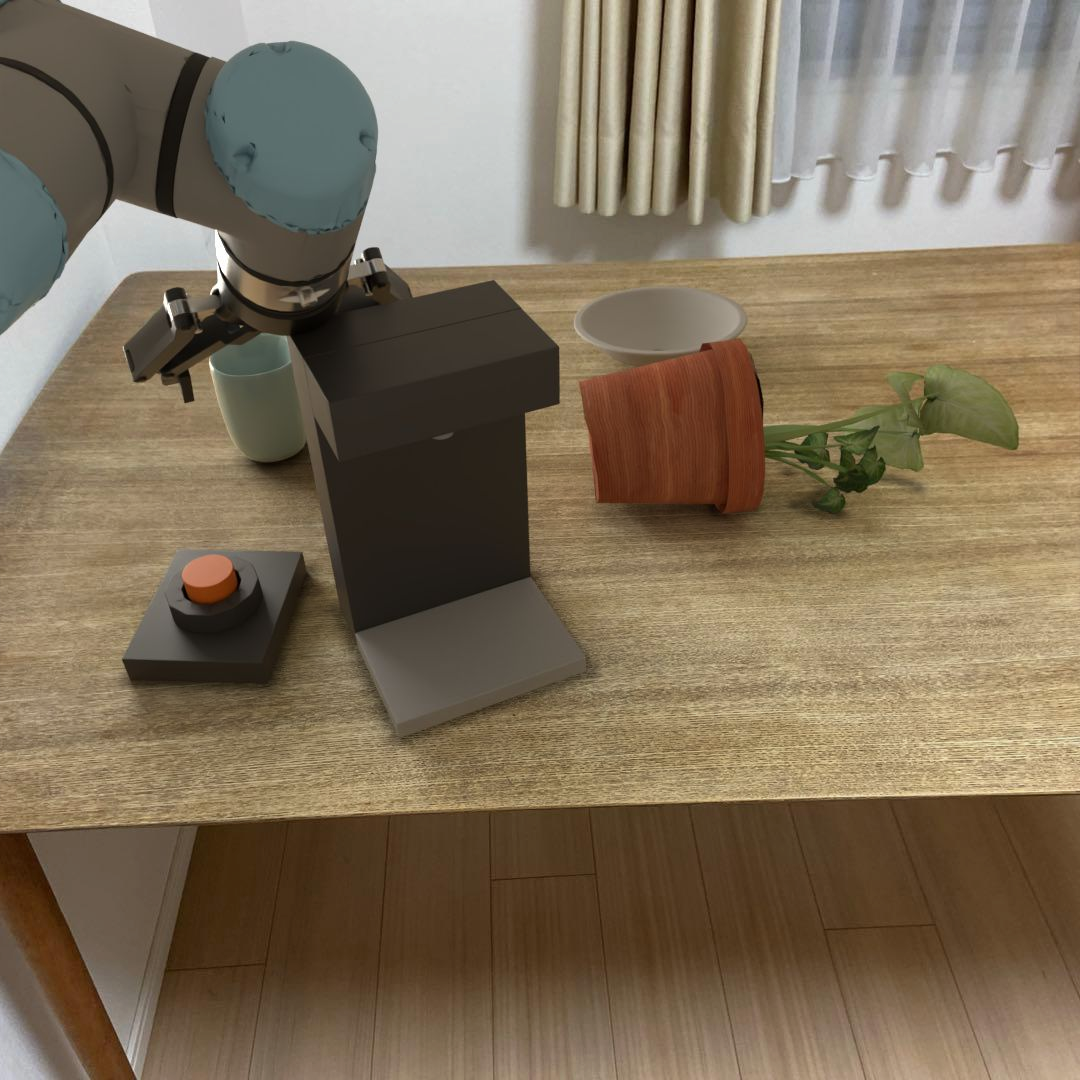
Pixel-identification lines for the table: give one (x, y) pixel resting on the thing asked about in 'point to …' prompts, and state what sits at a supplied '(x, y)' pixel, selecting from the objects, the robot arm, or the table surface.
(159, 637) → the control pad
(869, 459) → the potted plant
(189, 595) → the button
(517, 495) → the coffee maker
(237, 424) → the cup
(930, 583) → the table surface
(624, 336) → the dish
